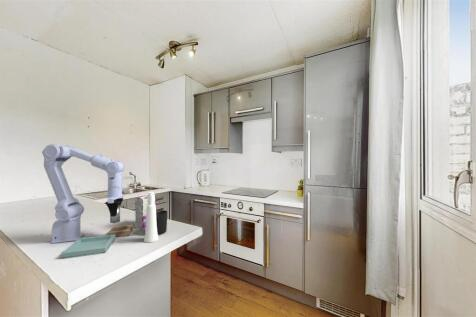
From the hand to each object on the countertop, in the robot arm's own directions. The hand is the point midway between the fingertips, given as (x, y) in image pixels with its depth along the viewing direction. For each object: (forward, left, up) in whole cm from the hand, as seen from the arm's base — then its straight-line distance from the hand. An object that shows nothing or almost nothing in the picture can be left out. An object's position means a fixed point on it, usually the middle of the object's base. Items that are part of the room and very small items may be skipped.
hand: (114, 214), depth 91 cm
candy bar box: (+12, +12, -11) cm, 20 cm away
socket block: (+2, +3, -10) cm, 11 cm away
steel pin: (0, 0, -3) cm, 3 cm away
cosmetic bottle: (+17, -10, -11) cm, 22 cm away
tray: (-6, -10, -10) cm, 16 cm away
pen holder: (+19, -1, -11) cm, 22 cm away
